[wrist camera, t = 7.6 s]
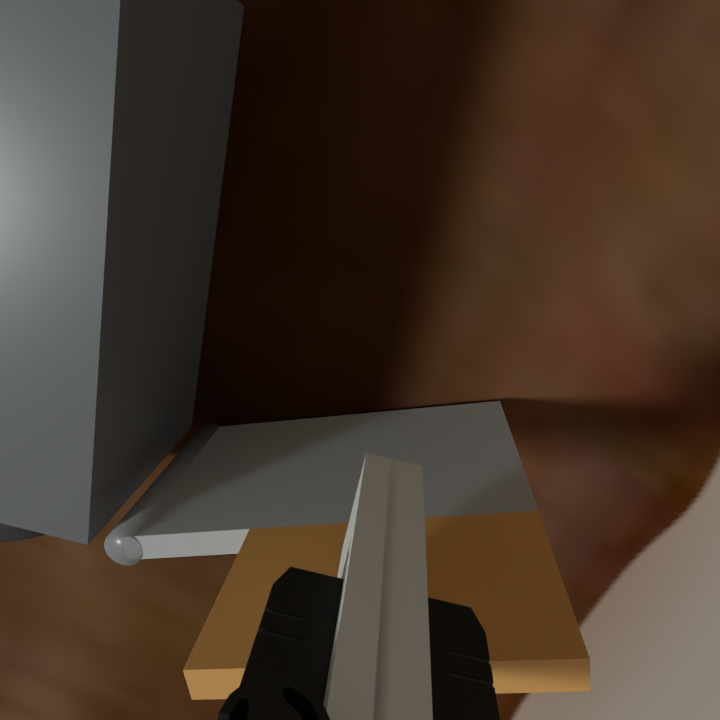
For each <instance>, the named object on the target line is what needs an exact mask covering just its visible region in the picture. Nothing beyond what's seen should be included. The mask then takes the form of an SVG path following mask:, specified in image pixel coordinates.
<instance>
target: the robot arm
mask: <svg viewBox="0 0 720 720" xmlns="http://www.w3.org/2000/svg"><path fill="white" fill-rule="evenodd" d="M489 661H490V656H489V650H488V644H487V638H486V632H485V631H484V629H483V627H482V625H481V624H480V622H479V620H478V619H477V617H476V615H475V614H474V612H473V610H472V608H471V607H467V606H463V605H459V604H455V603H450V602H446V601H442V600H438V599H433V598H429V597H428V591H427V567H426V542H425V518H424V494H423V470H422V466H420V465H416V464H412V463H407V462H403V461H399V460H395V459H391V458H386V457H382V456H378V455H374V454H369V453H366V455H365V459H364V463H363V467H362V471H361V475H360V479H359V483H358V487H357V491H356V495H355V499H354V503H353V507H352V511H351V515H350V520H349V524H348V528H347V532H346V536H345V540H344V544H343V548H342V553H341V559H340V564H339V570H338V576H337V577H333V576H328V575H324V574H320V573H316V572H312V571H307V570H303V569H299V568H295V567H290V568H289V569H288V570H287V571H286V572H285V573H283V574H282V575H281V576H280V577H279V578H278V579H277V580H276V581H275V582H274V583H273V585H272V588H271V591H270V594H269V597H268V600H267V603H266V607H265V610H264V613H263V616H262V619H261V622H260V625H259V628H258V632H257V634H256V637H255V640H254V643H253V646H252V649H251V652H250V656H249V659H248V662H247V665H246V668H245V671H244V674H243V677H242V680H241V683H240V686H239V688H237V689H236V690H235V691H233V692H232V693H231V694H230V695H229V697H228V698H227V700H226V702H225V703H224V705H223V707H222V708H221V710H220V712H219V716H218V720H500V718H499V712H498V706H497V700H496V694H495V687H493V682H494V681H493V675H492V669H491V664H489Z"/></svg>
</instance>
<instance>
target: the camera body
mask: <svg viewBox="0 0 720 720" xmlns="http://www.w3.org/2000/svg"><path fill="white" fill-rule="evenodd" d="M243 13H244V6H243V5H242V4H241V3H240V2H239V1H238V0H0V542H9V541H17V540H23V539H28V538H34V537H37V536H41V535H45V534H46V535H50V536H54V537H58V538H62V539H66V540H70V541H74V542H78V543H82V544H86V545H88V544H89V543H90V542H91V541H92V539H93V538H94V537H95V536H96V535H97V534H98V533H99V531H100V530H101V529H102V528H103V527H104V526H105V525H106V524H107V522H108V521H109V520H110V519H111V518H112V517H113V516H114V515H115V513H116V512H117V511H118V510H119V509H120V508H121V507H122V506H123V504H124V503H125V502H126V501H127V500H128V499H129V498H130V496H131V495H132V494H133V493H134V492H135V491H136V490H137V489H138V487H139V486H140V485H141V484H142V483H143V482H144V481H145V480H146V478H147V477H148V476H149V475H150V474H151V473H152V472H153V470H154V469H155V468H156V467H157V466H158V465H159V464H160V463H161V461H162V460H163V459H164V458H165V457H166V456H167V455H168V454H169V452H170V451H171V450H172V449H173V448H174V447H175V446H176V445H177V443H178V442H179V441H180V440H181V439H182V438H183V437H184V435H185V434H186V433H187V432H188V431H189V430H190V429H191V428H192V420H193V412H194V404H195V396H196V388H197V380H198V372H199V364H200V356H201V348H202V340H203V332H204V324H205V316H206V308H207V300H208V292H209V284H210V276H211V269H212V261H213V253H214V245H215V237H216V229H217V221H218V213H219V205H220V197H221V189H222V181H223V173H224V165H225V157H226V149H227V141H228V133H229V125H230V117H231V109H232V101H233V93H234V85H235V77H236V69H237V61H238V53H239V45H240V37H241V29H242V21H243Z"/></svg>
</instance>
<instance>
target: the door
mask: <svg viewBox="0 0 720 720" xmlns="http://www.w3.org/2000/svg"><path fill="white" fill-rule="evenodd" d="M366 453H369V454H374V455H378V456H382V457H386V458H391V459H395V460H399V461H403V462H407V463H412V464H416V465H420V466H422V470H423V494H424V518H425V542H426V567H427V591H428V597H429V598H433V599H438V600H442V601H446V602H450V603H455V604H459V605H463V606H467V607H471V608H472V610H473V612H474V614H475V615H476V617H477V619H478V620H479V622H480V624H481V625H482V627H483V629H484V631H485V632H486V638H487V644H488V650H489V656H490V661H489V664H491V669H492V675H493V681H494V682H493V687H495V693H539V692H584V691H585V692H588V691H590V658H589V656H588V653H587V650H586V647H585V644H584V641H583V638H582V636H581V632H580V630H579V627H578V624H577V621H576V618H575V615H574V612H573V609H572V607H571V604H570V601H569V598H568V595H567V592H566V589H565V586H564V584H563V581H562V578H561V575H560V572H559V569H558V566H557V563H556V561H555V558H554V555H553V552H552V549H551V546H550V543H549V540H548V538H547V535H546V532H545V529H544V526H543V523H542V520H541V517H540V515H539V512H538V509H537V506H536V503H535V500H534V497H533V494H532V492H531V489H530V486H529V483H528V480H527V477H526V474H525V471H524V469H523V466H522V463H521V460H520V457H519V454H518V451H517V448H516V446H515V443H514V440H513V437H512V434H511V431H510V428H509V425H508V423H507V420H506V417H505V414H504V411H503V408H502V405H501V402H500V401H493V402H482V403H471V404H460V405H450V406H439V407H428V408H417V409H406V410H395V411H384V412H373V413H362V414H351V415H341V416H330V417H319V418H308V419H297V420H286V421H275V422H264V423H253V424H243V425H232V426H221V427H219V426H218V425H216V424H213V423H207V424H204V425H202V426H201V427H200V428H199V430H198V431H197V432H196V433H195V434H194V435H193V437H192V438H191V439H190V440H189V441H188V442H187V444H186V445H185V446H184V447H183V448H182V449H181V451H180V452H179V453H178V454H177V455H176V457H175V458H174V459H173V460H172V461H171V462H170V464H169V465H168V466H167V467H166V468H165V469H164V471H163V472H162V473H161V474H160V475H159V476H158V478H157V479H156V480H155V481H154V482H153V484H152V485H151V486H150V487H149V488H148V489H147V491H146V492H145V493H144V494H143V495H142V496H141V498H140V499H139V500H138V501H137V502H136V503H135V505H134V506H133V507H132V508H131V509H130V511H129V512H128V513H127V514H126V515H125V516H124V518H123V519H122V520H121V521H120V522H119V523H118V525H117V526H116V527H115V528H114V529H113V530H112V532H111V533H110V534H109V535H108V536H107V538H106V539H105V543H104V547H105V551H106V553H107V554H108V556H109V557H110V558H111V559H112V560H113V561H115V562H117V563H119V564H122V565H134V564H136V563H138V562H139V561H140V560H141V559H150V558H168V557H185V556H202V555H219V554H236V553H238V555H237V557H236V559H235V561H234V563H233V565H232V567H231V569H230V572H229V574H228V576H227V578H226V580H225V582H224V584H223V586H222V588H221V591H220V593H219V595H218V597H217V599H216V601H215V603H214V605H213V607H212V610H211V612H210V614H209V616H208V618H207V620H206V622H205V624H204V626H203V629H202V631H201V633H200V635H199V637H198V639H197V641H196V643H195V645H194V648H193V650H192V652H191V654H190V656H189V658H188V660H187V662H186V664H185V667H184V669H183V672H184V675H185V679H186V682H187V685H188V688H189V692H190V695H191V698H192V700H197V699H227V698H228V697H229V695H230V694H231V693H232V692H233V691H235V690H236V689H237V688H239V686H240V683H241V680H242V677H243V674H244V671H245V668H246V665H247V662H248V659H249V656H250V652H251V649H252V646H253V643H254V640H255V637H256V634H257V632H258V628H259V625H260V622H261V619H262V616H263V613H264V610H265V607H266V603H267V600H268V597H269V594H270V591H271V588H272V585H273V583H274V582H275V581H276V580H277V579H278V578H279V577H280V576H281V575H282V574H283V573H285V572H286V571H287V570H288V569H289V568H290V567H295V568H299V569H303V570H307V571H312V572H316V573H320V574H324V575H328V576H333V577H337V576H338V570H339V564H340V559H341V553H342V548H343V544H344V540H345V536H346V532H347V528H348V524H349V520H350V515H351V511H352V507H353V503H354V499H355V495H356V491H357V487H358V483H359V479H360V475H361V471H362V467H363V463H364V459H365V455H366Z"/></svg>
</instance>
